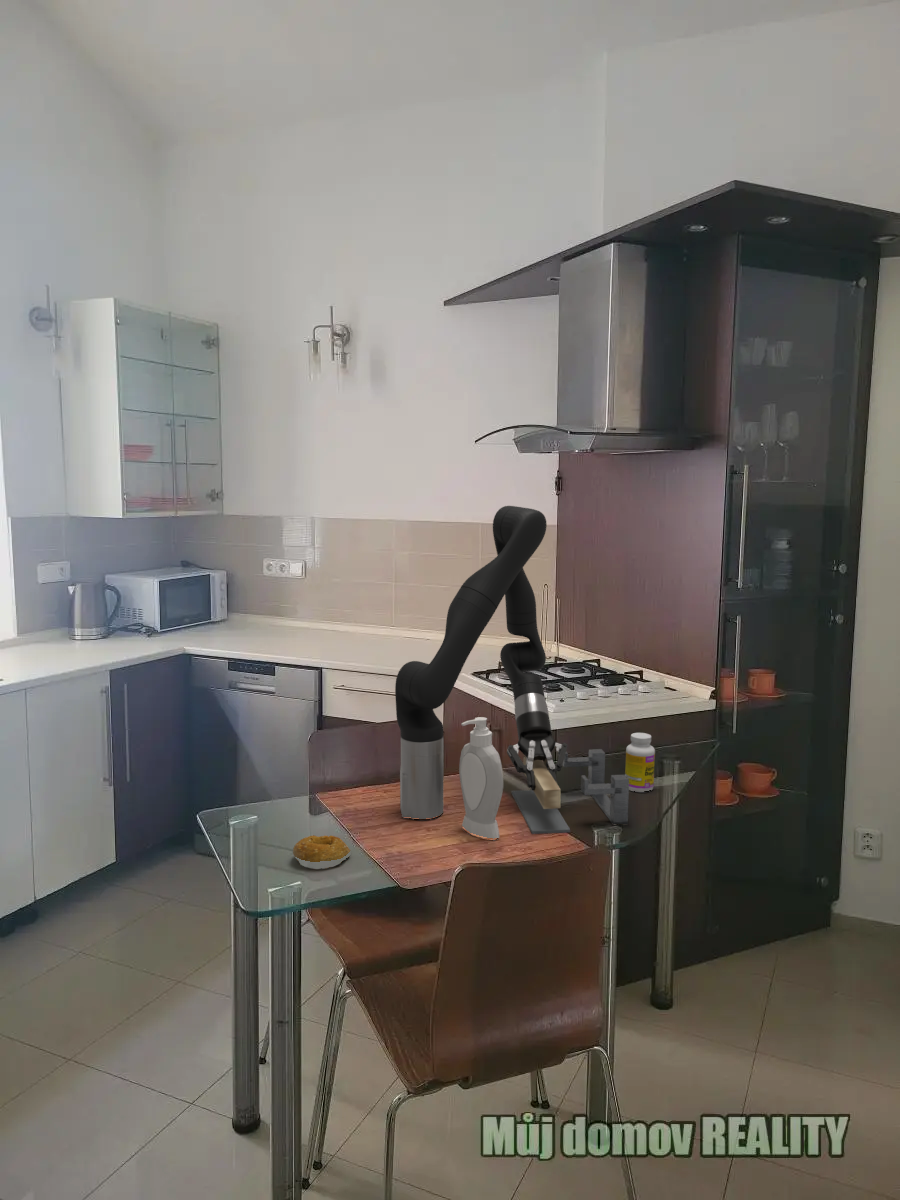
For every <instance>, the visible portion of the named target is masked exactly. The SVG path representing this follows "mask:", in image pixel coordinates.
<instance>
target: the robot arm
mask: <svg viewBox="0 0 900 1200" xmlns="http://www.w3.org/2000/svg"><path fill="white" fill-rule="evenodd" d="M546 531H547V519H546V516H545V514H544V513H543V512H541V511H540V510H536V509H535V508H528V507H524V506H523V507H522V506H516V505H505V506H502V507H500V508H499V509H498V511H496V513H495V514H494V517H493V520H492V535H493V540H494V545H495V550H496V555H497V556H495V557H494V559H492V560H491V561H489V563H487V564H485V565H484V566H482V567H481V568H480V569H478V570H477V571H474V573H472V574H471V575H469V577H468V578H467V579H466V580H465V581H464V582H463V583H462V585H461V586H460V588H459V589H458V591H457V593H456V594H455V596H454V598H453V599H452V601H451V602H450V604H449V607H448V610H447V615H446V622H445V623H446V624H445V634H444V638H443V641H442V643H441V645H440V647H439V648H438V650H437V652H436V654H435V655H434V657H433V658H432V660H431V661H430V663H427V662H422V661H419V660H413V661H408V662H406V663H405V664H403V665H402V666H401V668H400V669H399V670H398V673H397V675H396V680H395V684H394V688H395V689H394V690H395V691H394V692H395V693H394V695H395V709H396V710H395V711H396V712H395V713H396V721H397V725H398V727H399V729H400V768H399V773H400V774H399V779H400V781H399V782H400V783H399V786H400V787H399V788H400V789H399V790H400V791H399V794H400V795H399V796H400V797H399V799H400V801H399V802H400V804H399V805H400V806H399V807H400V813H401V814H402V815H401V818H402V817H411V818H419V819H426V818H433V817H436V816H439V815H441V814H442V813H443V814H444V805H445V804H444V725H443V724H444V723H442V721H441V720H440V719H439V717H438V716H437V714H436V713H435V711H434V710H435V709H438V708H440V706H442V705H443V704H444V703H445V702H446V701H447V699H448V698H449V696H450V695H451V693H452V691H453V689H454V687H455V684H456V683H457V680H458V678H459V676H460V674H461V671H462V670H463V667H464V666H465V663H466V661H467V660H468V658H469V655H470V654H471V653H472V651H473V650H474V647H475V645H476V644H477V642H478V640H479V638H480V636H481V635H482V633H483V631H484V630H485V629H486V626H487V625H488V623H490V621H491V619H492V617H493V615H494V614H495V612H496V610H498V608H499V606H500V604H501V602H502V600H503V599H504V598H505V618H506V619H505V620H506V629H507V631H508V633H509V634H510V635H513V636H518V637H524V638H527V639H528V640H529V641H520V642H519V641H518V642H509V643H505V644H504V645H503V646H502V648H501V650H500V654H499V655H500V656H499V657H500V663H501V665H502V667H503V669H504V671H505V674H506V675H507V677H508V679H509V682H510V684H511V688H512V693H513V699H514V718H515V719H514V720H515V723H516V730H517V736H518V740H517V741H518V742H517V743H516V744H514V745H512V744H509V745H508V746H507V751H506V754H507V756H508V757H509V759H510V761H511V763H512V764H513V766H514V768H515V769H516V771H517V772H518V773H519V774H520V773H523V774H524V773H525V774H526V776H527V778H526V783H527V787H528V788H529V789H530V790H535V787H536V785H535V778H534V771H532V768H533V761H535V760H542V761H543V763H544V765H545V766H546V768H547V769H548V771H549V773H550V774H551V775H552V777H553V778H554V780H555V782H556V783H557V784H558V780H557V775H556V772H560V771H561V770H562V768H563V762H564V758H565V753H566V752H567V749H568V744H567V743H566V742H562V743H559V742H556V740H555V739H554V736H553V732H552V728H551V727H552V726H551V720H550V714H549V709H548V704H547V701H546V697H545V692H544V685H543V681H542V678H541V677H540V676H539V675H537V674H535V673H529V672H535V671H540V670H542V668H543V667H544V666H545V663H546V661H547V660H546V659H547V657H546V652H545V648H544V646H543V644H542V641H541V638H540V635H539V634H540V633H539V629H538V622H537V618H538V617H537V601H536V597H535V593H534V590H533V588H532V585H531V583H530V581H529V580H530V579H528V577H527V574H526V572H525V570H524V567H525V565H526V564H527V563H528V561H529V560H530V559H531V558H532V556H533V555H534V553H535V552H536V551H537V549H538V548H539V546H540V545H541V544H542V542H543V540H544V537H545V534H546ZM504 596H505V597H504ZM554 749H555V750H556V753H557V755H558V757H557V761H556V763H554V760H553V755H552V752H553V750H554ZM519 751H520V752H521V753H522V754H523V756H526V757H527V759H526V765H524V761H523V760H522V759H521V757H520V756H519ZM443 814H442V815H443ZM442 815H441V816H442Z"/></svg>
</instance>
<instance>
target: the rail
mask: <svg viewBox="0 0 900 1200" xmlns="http://www.w3.org/2000/svg"><path fill="white" fill-rule="evenodd" d="M526 759H527V757H526V756H525V755H523V764H524V765H526ZM532 771H534V778H535V785H536V787H535V790H533V791H534V793H535V794H536V796H537V798H538V800H539V801H540V803H541V805H542V807H543V809H553V808H557V809H561V802H562V801H561V796H562V795H561V788H560V786H559V785H558V782H557V783H556V782H555V780H554V778H553V777H552V775H551V774H550V773H549V771H548V769H547V768H546V766H545V765H544V763H543V760H535V761H533V768H532ZM523 775H524V777H525V778H526V779H527V776H526V774H525V773H523Z"/></svg>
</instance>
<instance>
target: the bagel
mask: <svg viewBox="0 0 900 1200" xmlns="http://www.w3.org/2000/svg"><path fill="white" fill-rule="evenodd" d="M350 851H351V849H350V847H349V846H348V845H347V844H346V843H345V842H344V840H342V839H341V838H339V837H338V836H335V835H329V836H328V835H321V836H317V835H309V836H306V837H303V838H302V839H300V840H299V841H297V842H296V843H295V845H294V847H293V850H292V854H293V856H295V857H297V858H299V859H301V860H305V861H310V862H320V861H331V860H337V859H341V858H343V857H344V856H346V855H347V854H348V853H349V852H350ZM295 857H294V858H295Z"/></svg>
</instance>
